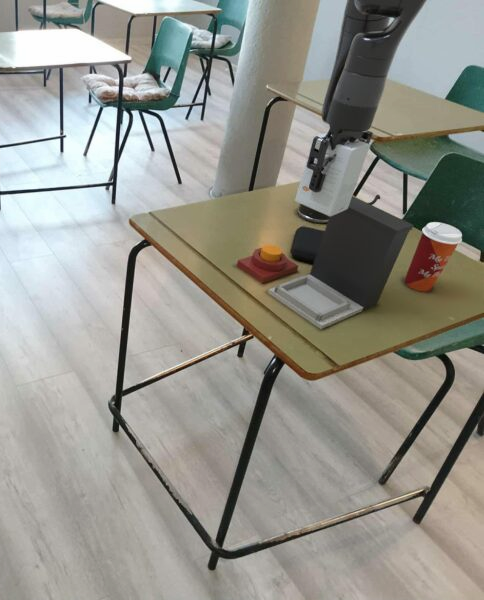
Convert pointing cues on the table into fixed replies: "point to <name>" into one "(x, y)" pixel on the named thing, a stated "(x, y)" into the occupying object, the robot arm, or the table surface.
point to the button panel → (266, 267)
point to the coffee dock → (347, 265)
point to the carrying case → (306, 243)
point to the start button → (271, 253)
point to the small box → (334, 179)
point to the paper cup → (432, 255)
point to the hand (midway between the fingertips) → (326, 187)
